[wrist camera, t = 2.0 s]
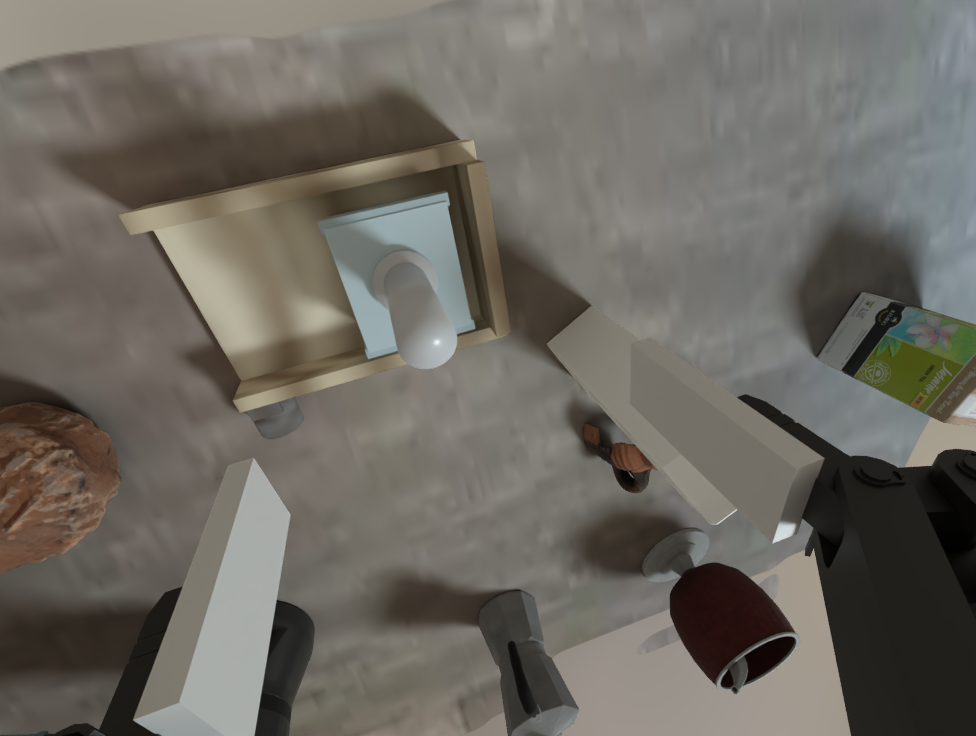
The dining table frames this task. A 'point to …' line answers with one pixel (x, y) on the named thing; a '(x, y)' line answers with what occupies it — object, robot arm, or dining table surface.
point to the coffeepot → (525, 668)
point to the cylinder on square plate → (402, 277)
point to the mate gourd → (720, 613)
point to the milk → (606, 378)
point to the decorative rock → (51, 481)
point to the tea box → (909, 356)
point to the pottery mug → (621, 460)
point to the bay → (315, 269)
